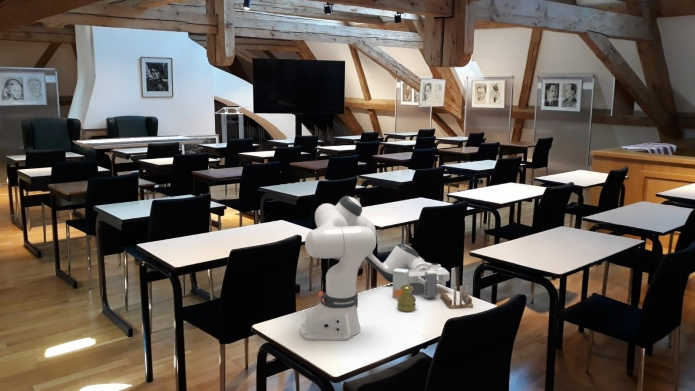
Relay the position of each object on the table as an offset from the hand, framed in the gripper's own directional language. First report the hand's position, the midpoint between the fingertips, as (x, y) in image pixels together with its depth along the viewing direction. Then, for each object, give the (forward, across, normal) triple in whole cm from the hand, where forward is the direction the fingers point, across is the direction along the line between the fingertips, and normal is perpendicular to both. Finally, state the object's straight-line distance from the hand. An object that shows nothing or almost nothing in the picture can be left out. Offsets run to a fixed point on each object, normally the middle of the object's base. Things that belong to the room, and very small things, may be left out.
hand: (431, 282), depth 239 cm
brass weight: (+9, -13, +8) cm, 17 cm away
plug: (0, 0, +6) cm, 6 cm away
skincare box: (-4, -12, +7) cm, 15 cm away
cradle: (+6, +9, +7) cm, 13 cm away
